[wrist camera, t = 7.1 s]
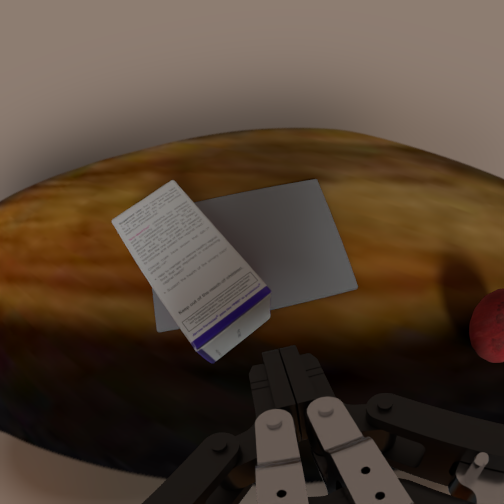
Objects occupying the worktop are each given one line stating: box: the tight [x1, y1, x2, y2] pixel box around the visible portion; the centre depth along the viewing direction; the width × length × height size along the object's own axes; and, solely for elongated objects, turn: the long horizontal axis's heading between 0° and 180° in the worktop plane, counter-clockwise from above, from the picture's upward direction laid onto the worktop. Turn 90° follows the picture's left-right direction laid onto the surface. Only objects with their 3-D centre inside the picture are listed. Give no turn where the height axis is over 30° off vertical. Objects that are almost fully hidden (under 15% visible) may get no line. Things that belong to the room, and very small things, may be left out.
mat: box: [152, 179, 358, 332], centre depth 27 cm, size 16×11×1 cm
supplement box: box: [112, 180, 272, 363], centre depth 23 cm, size 6×6×12 cm
